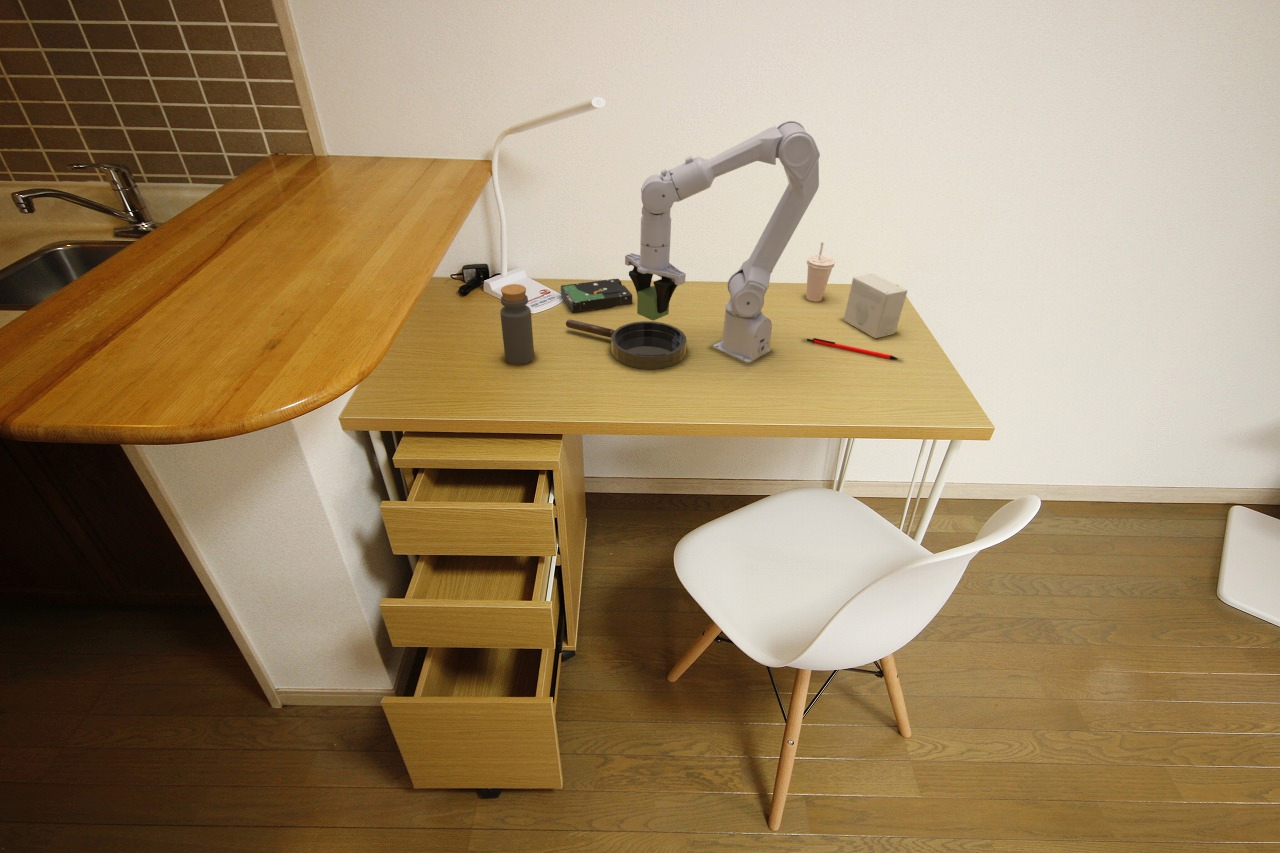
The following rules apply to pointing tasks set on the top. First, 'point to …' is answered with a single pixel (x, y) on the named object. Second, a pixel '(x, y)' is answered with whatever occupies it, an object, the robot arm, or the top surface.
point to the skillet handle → (589, 328)
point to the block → (649, 304)
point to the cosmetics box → (874, 305)
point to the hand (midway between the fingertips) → (652, 307)
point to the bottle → (516, 325)
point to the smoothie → (818, 275)
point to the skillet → (648, 345)
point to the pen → (850, 348)
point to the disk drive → (595, 295)
